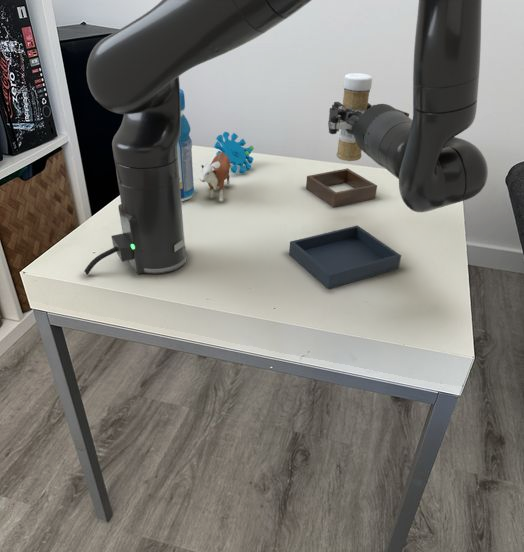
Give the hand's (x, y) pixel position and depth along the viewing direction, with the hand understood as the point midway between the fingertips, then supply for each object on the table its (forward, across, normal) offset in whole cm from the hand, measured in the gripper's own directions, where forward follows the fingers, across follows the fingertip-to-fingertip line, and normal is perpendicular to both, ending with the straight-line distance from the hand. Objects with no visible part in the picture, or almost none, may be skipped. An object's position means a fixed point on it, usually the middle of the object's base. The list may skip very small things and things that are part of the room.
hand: (348, 107), depth 92 cm
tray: (-18, +5, +20) cm, 27 cm away
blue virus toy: (+27, +15, +20) cm, 36 cm away
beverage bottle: (+14, +30, +20) cm, 39 cm away
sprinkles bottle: (-3, 0, +8) cm, 8 cm away
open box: (+9, -4, +20) cm, 22 cm away
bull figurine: (+13, +22, +20) cm, 32 cm away
